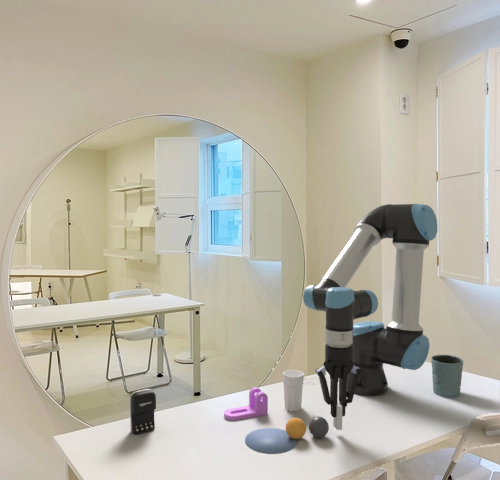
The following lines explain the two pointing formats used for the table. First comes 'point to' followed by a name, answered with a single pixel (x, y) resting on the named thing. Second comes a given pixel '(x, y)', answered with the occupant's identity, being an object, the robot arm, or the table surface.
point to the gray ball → (318, 427)
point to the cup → (293, 389)
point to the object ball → (295, 428)
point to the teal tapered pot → (447, 375)
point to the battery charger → (142, 411)
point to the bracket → (250, 406)
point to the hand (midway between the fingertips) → (337, 427)
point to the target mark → (270, 440)
